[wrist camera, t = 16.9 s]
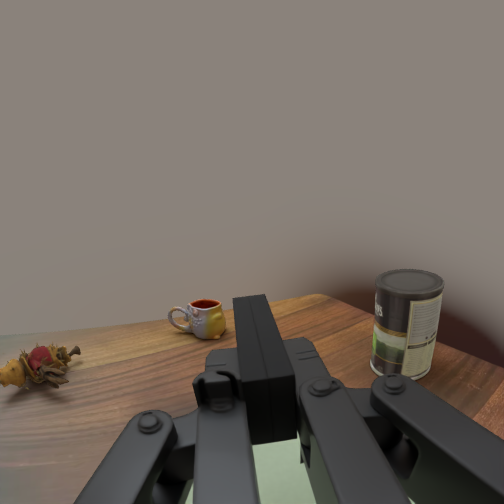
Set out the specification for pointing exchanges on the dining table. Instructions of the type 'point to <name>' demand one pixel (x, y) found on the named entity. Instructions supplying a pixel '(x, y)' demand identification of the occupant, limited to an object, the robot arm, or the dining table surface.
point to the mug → (202, 318)
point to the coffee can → (405, 322)
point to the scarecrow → (38, 366)
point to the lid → (280, 474)
